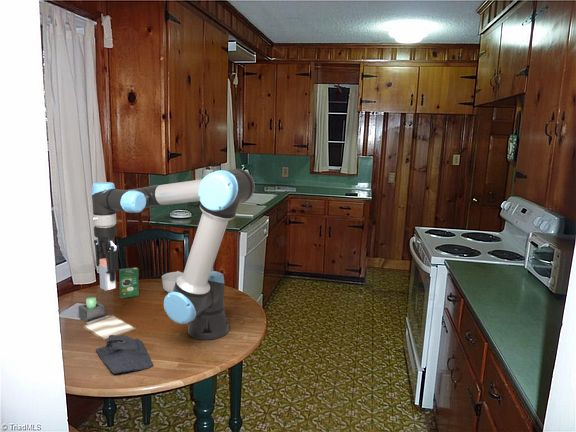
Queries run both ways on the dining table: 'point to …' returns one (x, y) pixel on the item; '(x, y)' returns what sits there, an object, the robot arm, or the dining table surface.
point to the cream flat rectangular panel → (108, 327)
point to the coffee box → (128, 282)
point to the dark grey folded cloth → (124, 354)
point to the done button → (91, 302)
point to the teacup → (170, 280)
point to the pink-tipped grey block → (104, 274)
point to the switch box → (91, 312)
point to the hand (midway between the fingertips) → (108, 287)
